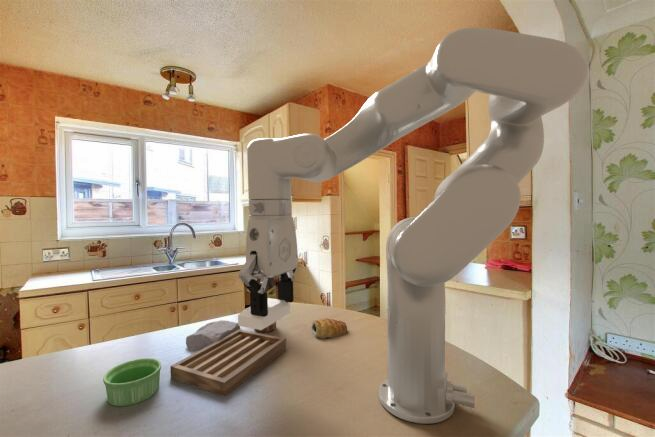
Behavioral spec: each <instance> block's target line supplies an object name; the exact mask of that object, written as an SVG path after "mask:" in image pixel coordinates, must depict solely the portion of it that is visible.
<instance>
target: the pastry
mask: <svg viewBox="0 0 655 437" xmlns="http://www.w3.org/2000/svg"><path fill="white" fill-rule="evenodd" d="M312 321H313V322H312V323H311V330H312V334H313V335H314V336H315V337H317V338H320V339H325V338H328V337H329V338H333V337H337V336H340V335H344V334H345V333H347V331H348V325H347V324H346V322H345V321H342V320H338V319H333V318H330V319H329V318H327V317H326V318H324V319H323V318H318V319H317V320H316V319H315V320H312Z"/></svg>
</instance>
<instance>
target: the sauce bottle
mask: <svg viewBox="0 0 655 437" xmlns="http://www.w3.org/2000/svg"><path fill="white" fill-rule="evenodd" d="M261 274H262V273H261ZM260 281H261V279H259V278H257V282H258V283H259V284H260ZM264 292H267V298H272V299H277V285H276V281H275V279H274V277H272V278H269V277H268V281H267V284H266V288H265V291H264ZM276 328H277V321H276V322H274V323H273V324H271V325H269V326H268V327H266V328H264V329H263V330H258V329H254V331H255V332H256V333H268V332H272V331H274V330H275V329H276Z"/></svg>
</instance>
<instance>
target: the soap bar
mask: <svg viewBox="0 0 655 437" xmlns="http://www.w3.org/2000/svg"><path fill="white" fill-rule="evenodd" d="M267 299H268V315H267V316H265V317H262V316H256V315H252V314H251V308H250V306H249V307H246V308H244V309H243V310H242V311H241V312H240V313H239V314H238V315H237V323H238V326H240V327H244V328H249V329H258V330H263V329H264V328H266V327H268V326H269V325H271V324H273V323H274V322H276V323H277V321H279V320H281V319H283V318H284V317H285V316H288V315H289V314H290V313H291V307H290V306H291V304H290V302H285V300H279V299H278V298H276V299H272V298H267Z"/></svg>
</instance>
